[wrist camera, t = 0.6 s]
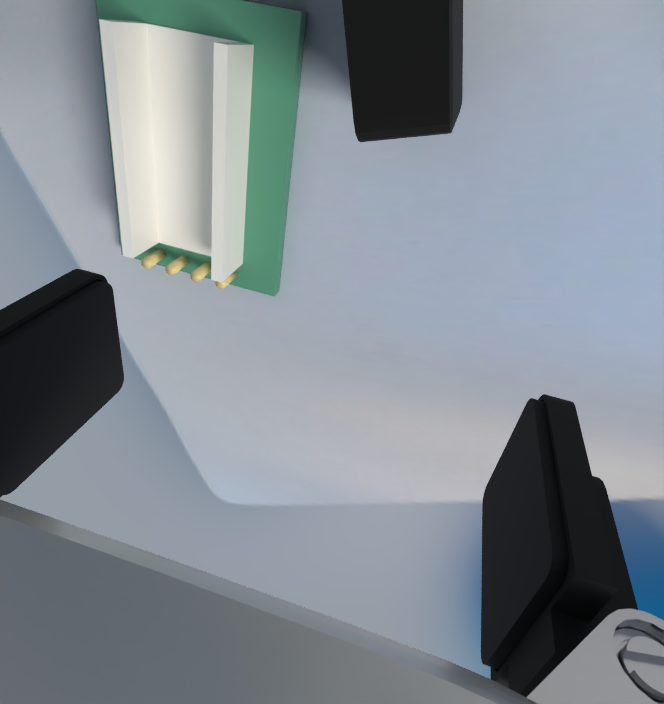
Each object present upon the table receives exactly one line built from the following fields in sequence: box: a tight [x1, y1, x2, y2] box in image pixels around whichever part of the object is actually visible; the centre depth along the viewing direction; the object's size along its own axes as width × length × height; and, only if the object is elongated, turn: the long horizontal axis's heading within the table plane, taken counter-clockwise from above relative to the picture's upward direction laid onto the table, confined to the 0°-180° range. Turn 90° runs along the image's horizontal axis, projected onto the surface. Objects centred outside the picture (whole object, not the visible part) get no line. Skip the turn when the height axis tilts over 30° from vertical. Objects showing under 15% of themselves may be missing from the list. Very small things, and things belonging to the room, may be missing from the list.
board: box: [96, 0, 307, 296], centre depth 32 cm, size 18×13×4 cm
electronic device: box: [342, 0, 463, 142], centre depth 22 cm, size 4×10×10 cm, turn 8°
